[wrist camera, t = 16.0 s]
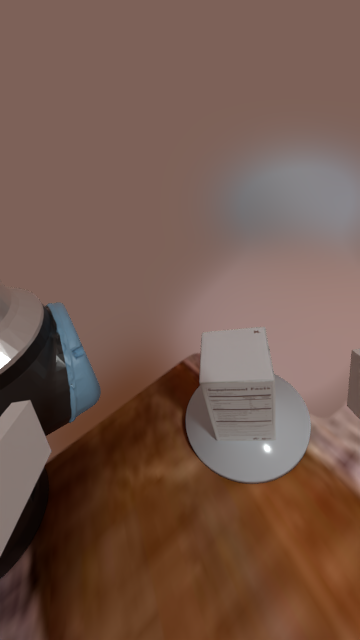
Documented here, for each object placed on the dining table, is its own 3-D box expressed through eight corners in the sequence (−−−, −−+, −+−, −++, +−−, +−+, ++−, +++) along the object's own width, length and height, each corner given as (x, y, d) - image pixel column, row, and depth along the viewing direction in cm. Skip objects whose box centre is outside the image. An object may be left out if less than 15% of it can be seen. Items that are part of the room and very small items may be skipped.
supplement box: (216, 392, 40) (201, 330, 32) (269, 390, 38) (267, 324, 30) (215, 442, 35) (196, 382, 27) (276, 443, 33) (277, 379, 25)
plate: (168, 457, 36) (166, 454, 35) (208, 363, 46) (207, 359, 45) (303, 507, 29) (303, 504, 28) (314, 383, 39) (315, 378, 38)
